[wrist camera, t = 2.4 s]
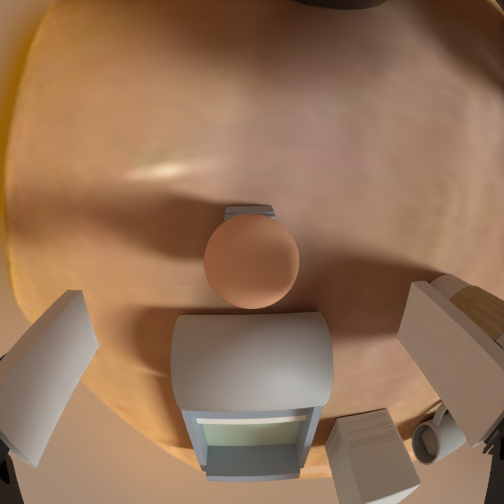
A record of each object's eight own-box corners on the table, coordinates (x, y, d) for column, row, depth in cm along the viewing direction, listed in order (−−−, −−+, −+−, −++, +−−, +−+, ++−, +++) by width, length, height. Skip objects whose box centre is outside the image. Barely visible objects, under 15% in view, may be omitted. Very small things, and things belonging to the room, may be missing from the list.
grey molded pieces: (165, 203, 20) (125, 233, 13) (330, 201, 21) (375, 229, 13) (204, 438, 31) (201, 487, 24) (297, 436, 32) (305, 483, 24)
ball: (207, 206, 16) (193, 229, 12) (292, 205, 16) (312, 227, 12) (211, 283, 18) (202, 328, 13) (288, 281, 18) (304, 325, 13)
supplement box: (322, 445, 30) (340, 521, 18) (336, 416, 27) (362, 505, 16) (370, 436, 30) (395, 505, 19) (389, 406, 28) (424, 483, 16)
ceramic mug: (441, 426, 33) (458, 455, 26) (406, 440, 33) (421, 473, 25) (467, 387, 29) (490, 417, 22) (431, 401, 29) (453, 437, 22)
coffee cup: (398, 356, 24) (464, 468, 10) (396, 277, 21) (510, 402, 7) (467, 320, 24) (542, 402, 10) (473, 242, 20) (584, 317, 6)
